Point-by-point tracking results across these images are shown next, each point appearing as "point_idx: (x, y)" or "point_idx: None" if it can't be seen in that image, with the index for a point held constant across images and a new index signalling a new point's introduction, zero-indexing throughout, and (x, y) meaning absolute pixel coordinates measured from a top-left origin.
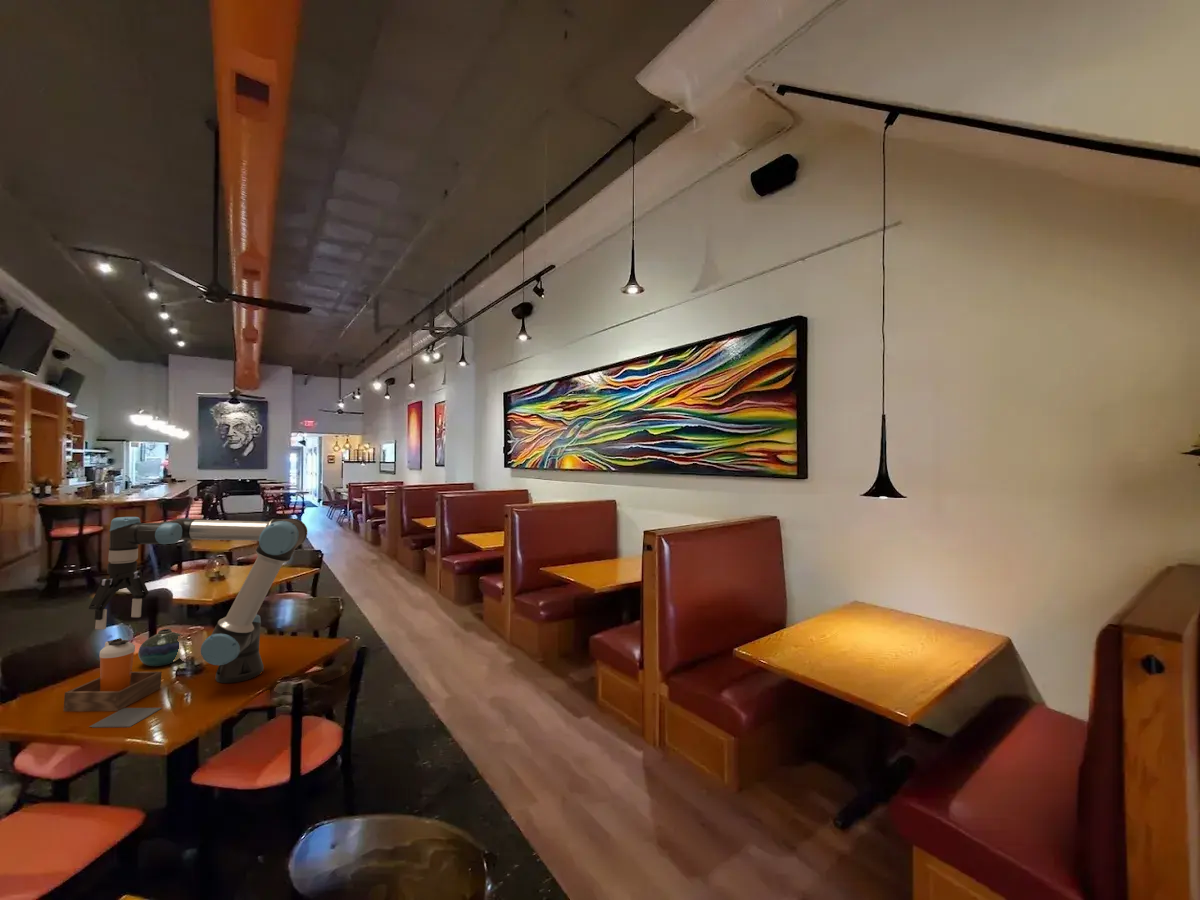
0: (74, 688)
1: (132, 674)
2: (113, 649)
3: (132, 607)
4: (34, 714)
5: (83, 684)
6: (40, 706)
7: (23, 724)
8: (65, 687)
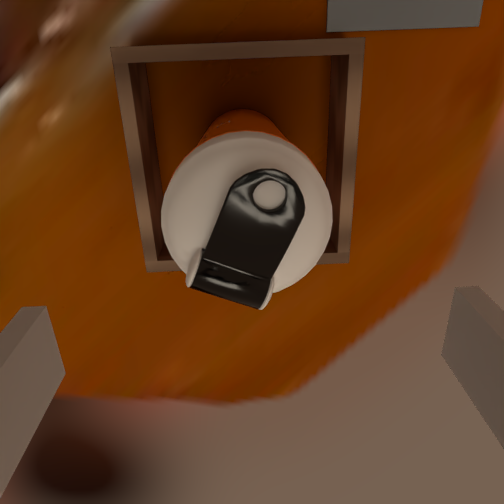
0: None
1: (147, 178)
2: (315, 201)
3: (16, 456)
4: (348, 294)
5: None
6: (296, 326)
7: (413, 264)
8: (168, 375)
